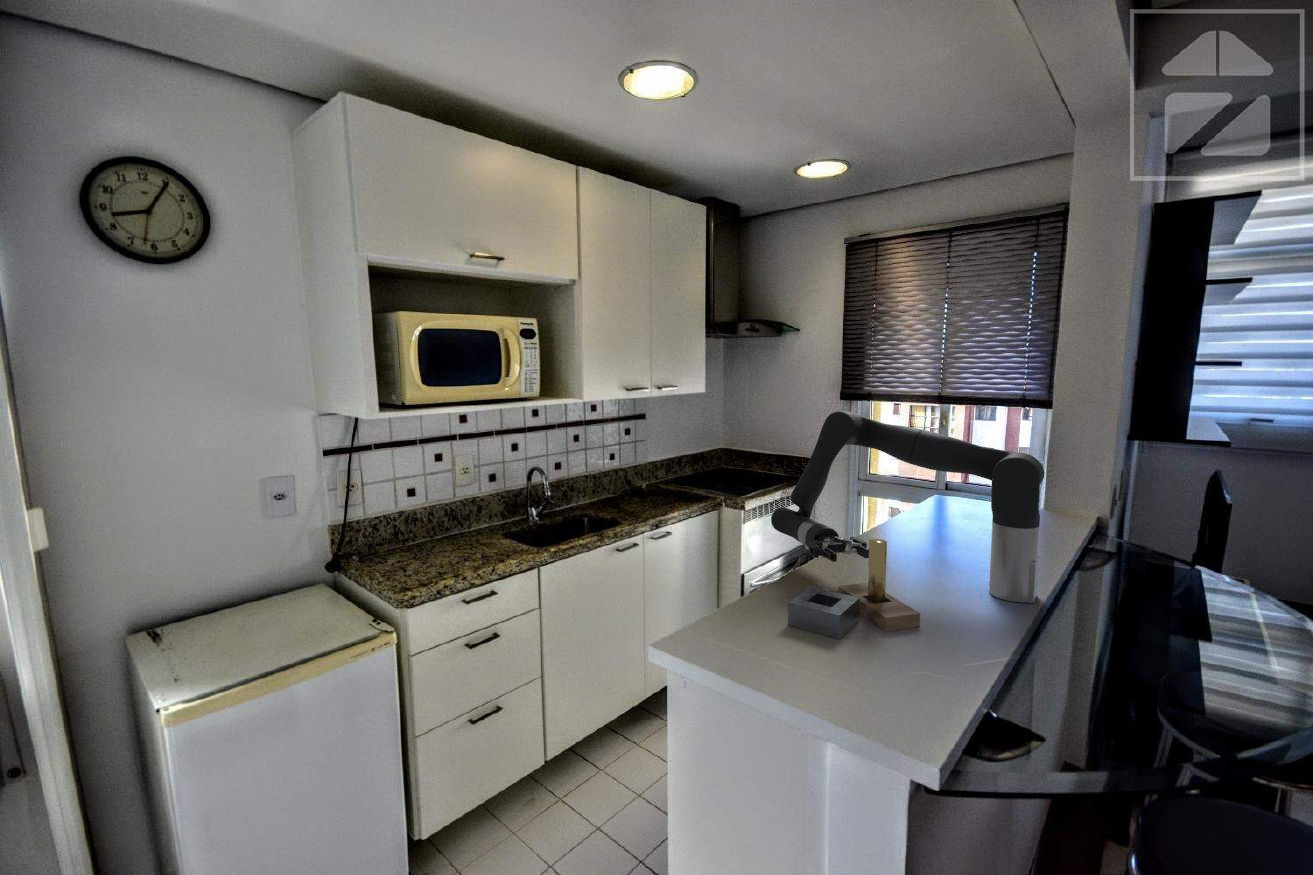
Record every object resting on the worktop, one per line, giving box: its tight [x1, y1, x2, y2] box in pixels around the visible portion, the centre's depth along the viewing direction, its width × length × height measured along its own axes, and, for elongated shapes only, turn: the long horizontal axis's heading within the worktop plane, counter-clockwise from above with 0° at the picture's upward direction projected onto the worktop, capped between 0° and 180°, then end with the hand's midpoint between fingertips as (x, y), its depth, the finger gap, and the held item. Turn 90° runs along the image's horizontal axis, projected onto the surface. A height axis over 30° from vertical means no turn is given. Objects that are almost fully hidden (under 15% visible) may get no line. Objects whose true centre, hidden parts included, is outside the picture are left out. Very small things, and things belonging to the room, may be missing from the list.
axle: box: [867, 538, 888, 604], centre depth 125 cm, size 4×4×16 cm
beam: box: [837, 582, 921, 633], centre depth 126 cm, size 18×8×3 cm, turn 13°
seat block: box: [787, 586, 860, 641], centre depth 121 cm, size 11×11×5 cm
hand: (851, 556), depth 135 cm, fingers open, 8 cm apart
